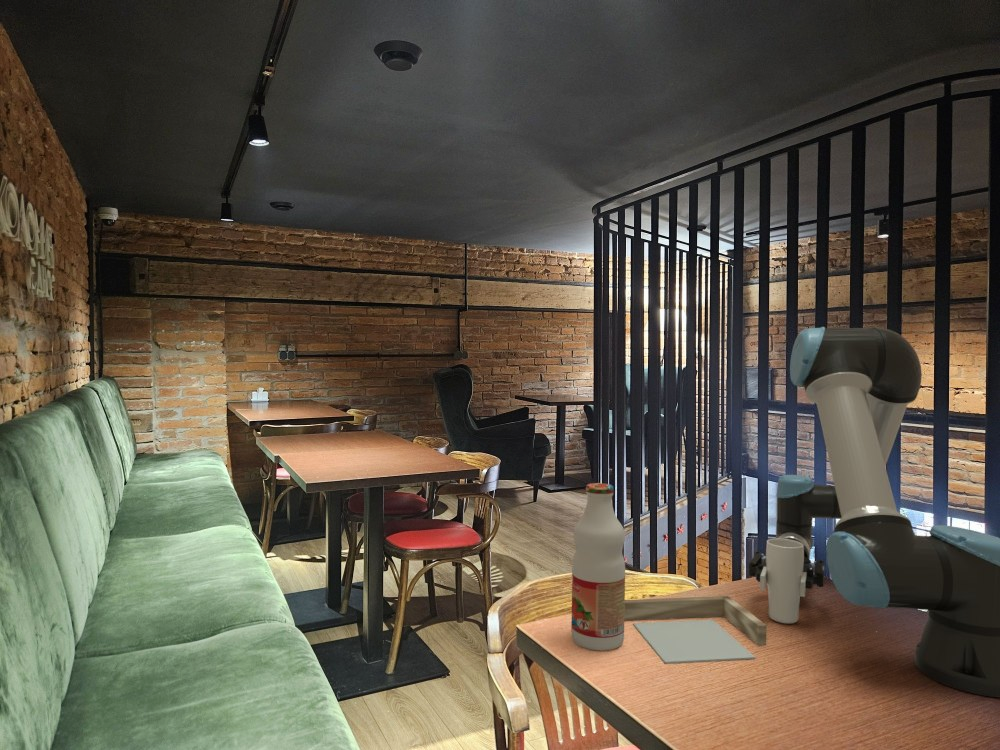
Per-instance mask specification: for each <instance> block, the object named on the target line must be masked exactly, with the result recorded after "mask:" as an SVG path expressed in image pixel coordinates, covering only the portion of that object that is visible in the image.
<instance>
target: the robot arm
mask: <svg viewBox="0 0 1000 750" xmlns="http://www.w3.org/2000/svg"><path fill="white" fill-rule="evenodd" d="M789 375H790V381H791V383H792V384H793V385H794V386H797V387H800V388H801V387H803V388H804V391H805V392H804V393H805V396H806V398H807V399H808V400H809V401H810V402H812V403H814V404H816V408H817V411H818V415H819V421H820V424H821V425H820V426H821V430H822V434H823V439H824V444H825V449H826V452H827V457H828V462H829V466H830V472H831V476H832V481H833V484H834V485H825V484H824V485H821V484H814V481H813V479H812V477H810V476H806V475H798V474H784V475H781V476H779V478H778V481H777V482H778V483H777V487H776V488H777V490H776V524H775V526H776V527H775V528H776V529H775V538H781V539H790V540H795V541H798V542H800V543H802V544H803V545H804V568H803V575H802V577H801V585H800V598H801V597H802V598H805V597H806V593H807V592H806V590H807V589H809V590H812V589H813V586H814V585H816V587H819V588H824V584H825V583H824V581H825V580H824V578H825V577H824V576H825V575H824V574H825V560H817V561H815V560H814V561H813V562H812V561H811V559H810V558H811V550H812V549H813V536H812V535H813V529H812V528H813V519H829V520H830V519H831V520H832V519H833V520H836V519H837V520H838V521H837V522H836V524H834V528H833V529H834V532H833V533H831V534H830V535H829V537H828V538H827V542H826V545H825V547H826V549H825V550H826V553H827V555H826V564H827V567H828V571H829V575H830V577H831V581H832V582H833V585H834V587H835V588H836V590H837V591H838V593H839V594H840V596H842V597H843V599H844V600H846V601H847V602H848V603H850V604H852V605H854V606H858V607H859V606H860V607H866V608H867V607H869V608H874V609H876V610H877V609H878V610H883V609H899V610H901V609H903V610H919V611H920V610H923V611H928V617H927V621H926V624H925V626H924V629H923V632H922V635H921V638H920V642H917V644H916V646H915V649H914V665H915V667H916V668H917V669H918V670H919V671H920V672H921V673H923V674H924V675H925V676H927V677H928V678H930V679H932V680H934V681H936V682H939V683H940V684H942V685H945V686H948V687H951V688H953V689H956V690H959V691H962V692H967V693H971V694H974V695H980V696H984V697H990V698H991V697H992V698H1000V537H997V536H995V535H992V534H988V533H984V532H981V531H977V530H972V529H968V528H964V527H960V526H959V527H958V526H951V525H943V524H936V525H933V526H931V528H930V530H929V535H916V534H915V531H914V529H913V526H912V522H911V520H910V519H909V517H907V516H905V515H903V514H902V513H900V512H899V511H898V510H897V505H896V502H895V498H894V495H893V491H892V488H891V483H890V480H889V475H888V472H887V469H886V468H887V467H886V465H887V463H888V460H889V456H890V454H891V451H892V448H893V446H894V443H895V440H896V438H897V435H898V432H899V430H900V427H901V424H902V422H903V418H904V415H905V412H906V410H907V407H908V404H911V403H914V402H915V401H916V399H917V397H918V395H919V391H920V390H921V385H922V376H923V374H922V366H921V362H920V358H919V356H918V353H917V351H916V350H915V348H914V347H913V345H912V344H911V343H910V342H909V340H907V339H906V338H905V337H904V336H902V335H901V334H899V333H898V332H896V331H894V330H891V329H888V328H884V327H871V328H870V327H868V328H867V327H852V328H851V327H843V328H842V327H841V328H840V327H839V328H838V327H836V328H834V327H833V328H831V327H830V328H829V327H825V326H820V327H810V328H805V329H802V330H801V331H800V332H799V334H797V336H796V338H795V340H794V344H793V346H792V351H791V356H790V364H789ZM748 576H749V577H755V580H756V581H757V582H758V583H759V591H765V589H766V587H767V585H768V584H767V570H766V555H764V553H761V552H760V551H754V556H753V557H752V559H751V560H750V561H749V562H748Z"/></svg>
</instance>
